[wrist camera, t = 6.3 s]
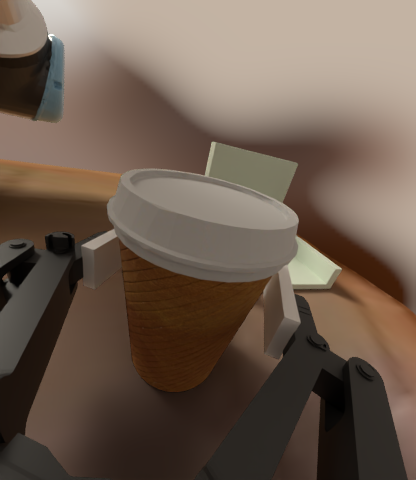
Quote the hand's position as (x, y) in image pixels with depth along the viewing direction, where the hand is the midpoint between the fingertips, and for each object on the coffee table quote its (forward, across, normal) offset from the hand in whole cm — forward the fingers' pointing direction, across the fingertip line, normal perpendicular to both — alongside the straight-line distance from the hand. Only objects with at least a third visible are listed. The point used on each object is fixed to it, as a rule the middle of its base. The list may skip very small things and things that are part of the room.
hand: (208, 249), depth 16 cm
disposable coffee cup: (-4, 0, -7) cm, 8 cm away
